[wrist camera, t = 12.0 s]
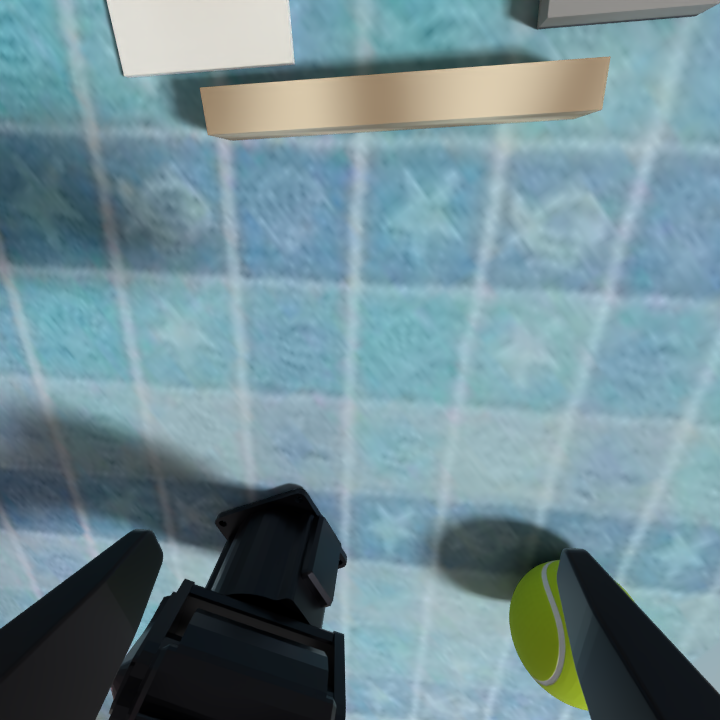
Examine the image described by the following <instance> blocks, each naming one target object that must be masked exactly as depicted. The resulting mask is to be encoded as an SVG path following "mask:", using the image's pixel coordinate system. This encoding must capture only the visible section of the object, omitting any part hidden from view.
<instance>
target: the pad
mask: <svg viewBox="0 0 720 720" xmlns="http://www.w3.org/2000/svg"><path fill="white" fill-rule="evenodd" d="M107 4H108V8H109V12H110V17H111V21H112V25H113V30H114V34H115V38H116V43H117V47H118V51H119V55H120V60H121V64H122V68H123V73H124V76H125V77H128V78H132V77H145V76H158V75H170V74H183V73H195V72H208V71H221V70H233V69H246V68H259V67H271V66H284V65H295V61H294V51H293V40H292V29H291V18H290V7H289V0H107Z"/></svg>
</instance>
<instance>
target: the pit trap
mask: <svg viewBox="0 0 720 720" xmlns="http://www.w3.org/2000/svg"><path fill="white" fill-rule="evenodd" d="M719 3H720V0H540V3H539V13H538V23H537V29H546V28H558V27H570V26H582V25H594V24H606V23H618V22H630V21H642V20H654V19H667V18H679V17H691V16H697V15H699V14H700V13H702V12H704V11H706V10H708V9H710V8H712V7H713V6H715V5H717V4H719Z"/></svg>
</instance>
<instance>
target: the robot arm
mask: <svg viewBox="0 0 720 720" xmlns="http://www.w3.org/2000/svg"><path fill="white" fill-rule="evenodd" d="M298 497H301V499H300V498H298ZM224 521H225V522H224ZM215 524H216V526H217V527H218V528H219V530H220V531H221V532H222V534H223V535H224V536H225V538H226V539H227V542H226V544H225V546H224V549H223V551H222V553H221V555H220V557H219V559H218V561H217V564H216V566H215V568H214V570H213V572H212V574H211V576H210V579H209V581H208V583H207V585H206V587H205V588H204V587H201V586H198V585H195V582H193V581H190V580H187V579H184V581H183V583H182V584H181V586H180V588H179V589H178V591H177V593H176V592H173V593H172V594H171V596H166V597H164V598H163V600H162V601H161V603H160V605H159V607H158V609H157V610H156V612H155V614H154V616H153V618H152V619H151V621H150V623H149V625H148V626H147V628H146V629H145V631H144V632H143V634H142V635H141V636H140V638H139V639H138V640H137V642H136V643H135V644H134V646H133V647H132V648H131V650H130V651H129V652H128V649H129V647H130V645H131V643H132V641H133V638H134V636H135V634H136V632H137V629H138V627H139V624H140V622H141V619H142V616H143V614H144V611H145V608H146V606H147V603H148V600H149V597H150V595H151V592H152V589H153V587H154V584H155V581H156V578H157V576H158V573H159V570H160V568H161V565H162V561H163V552H162V549H161V547H160V545H159V543H158V541H157V539H156V536H155V534H154V533H153V531H151V530H144V529H135V530H133V531H131V532H129V533H128V534H126V535H125V536H124V537H122V538H121V539H120V540H118V541H117V542H116V543H114V544H113V545H112V546H110V547H109V548H108V549H106V550H105V551H104V552H102V553H101V554H100V555H98V556H97V557H96V558H94V559H93V560H92V561H90V562H89V563H88V564H86V565H85V566H84V567H82V568H81V569H80V570H78V571H77V572H76V573H74V574H73V575H72V576H70V577H69V578H68V579H66V580H65V581H64V582H62V583H61V584H60V585H58V586H57V587H56V588H54V589H53V590H52V591H50V592H49V593H48V594H46V595H45V596H44V597H42V598H41V599H40V600H38V601H37V602H36V603H34V604H33V605H32V606H30V607H29V608H28V609H26V610H25V611H24V612H22V613H21V614H20V615H18V616H17V617H16V618H14V619H13V620H12V621H10V622H9V623H8V624H6V625H5V626H4V627H2V628H1V629H0V720H95V719H96V717H97V715H98V713H99V711H100V709H101V706H102V704H103V702H104V700H105V698H106V696H107V694H108V692H109V690H110V687H111V691H112V695H113V703H112V705H111V708H110V711H109V714H111V716H110V718H109V720H345V715H346V696H345V652H344V634H342V633H339V632H336V631H334V632H330V631H327V630H324V629H322V624H323V618H324V612H325V607H328V606H331V604H332V601H333V597H334V590H335V584H336V577H337V571H338V569H339V568H342V567H345V565H346V562H347V556H346V554H345V552H344V551H343V549H342V547H341V543H340V541H339V540H338V538H337V536H336V535H335V533H334V532H333V530H332V528H331V527H330V525H329V524H328V522H327V520H326V519H325V517H323V516H322V515H321V514H320V512H319V511H318V509H317V507H316V506H315V504H314V503H313V501H312V499H311V498H310V496H309V495H308V493H307V492H306V491H305V490H303V489H295V490H292V491H289V492H286V493H283V494H280V495H277V496H274V497H270V498H267V499H264V500H261V501H258V502H255V503H252V504H249V505H245V506H242V507H239V508H236V509H233V510H230V511H227V512H224V513H221V514H219V515H218V517H217V519H216V521H215ZM557 585H558V590H559V595H560V600H561V604H562V609H563V614H564V618H565V623H566V628H567V632H568V637H569V642H570V646H571V651H572V656H573V660H574V664H575V668H576V672H577V675H578V679H579V682H580V686H581V689H582V692H583V695H584V698H585V701H586V704H587V707H588V711H589V714H590V717H591V720H720V694H719V693H718V692H717V691H716V690H715V689H714V688H713V686H712V685H711V684H710V683H709V682H708V681H707V680H706V679H705V678H704V677H703V676H702V675H701V674H700V672H699V671H698V670H697V669H696V668H695V667H694V666H693V665H692V664H691V663H690V662H689V661H688V659H687V658H686V657H685V656H684V655H683V654H682V653H681V652H680V651H679V650H678V649H677V648H676V646H675V645H674V644H673V643H672V642H671V641H670V640H669V639H668V638H667V637H666V636H665V635H664V634H663V632H662V631H661V630H660V629H659V628H658V627H657V626H656V625H655V624H654V623H653V622H652V621H651V619H650V618H649V617H648V616H647V615H646V614H645V613H644V612H643V611H642V610H641V609H640V608H639V607H638V605H637V604H636V603H635V602H634V601H633V600H632V599H631V598H630V597H629V596H628V595H627V594H626V592H625V591H624V590H623V589H622V588H621V587H620V586H619V585H618V584H617V583H616V582H615V581H614V580H613V578H612V577H611V576H610V575H609V574H608V573H607V572H606V571H605V570H604V569H603V568H602V567H601V566H600V564H599V563H598V562H597V561H596V560H595V559H594V558H593V557H592V556H591V555H590V554H589V553H588V552H587V551H586V550H584V549H576V548H565V549H563V550H562V553H561V557H560V561H559V566H558V570H557ZM127 652H128V654H127ZM126 654H127V655H126Z"/></svg>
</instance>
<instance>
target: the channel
mask: <svg viewBox="0 0 720 720" xmlns="http://www.w3.org/2000/svg"><path fill="white" fill-rule="evenodd" d="M609 63H610V57H598V58H585V59H572V60H558V61H545V62H532V63H519V64H506V65H492V66H479V67H466V68H453V69H439V70H426V71H413V72H400V73H386V74H373V75H360V76H347V77H333V78H320V79H307V80H294V81H281V82H267V83H254V84H241V85H228V86H214V87H201V88H200V92H201V98H202V104H203V109H204V115H205V121H206V127H207V133H208V135H210V136H215V137H219V138H224V139H228V140H248V139H264V138H280V137H296V136H312V135H328V134H344V133H359V132H375V131H391V130H407V129H423V128H439V127H455V126H471V125H487V124H503V123H519V122H535V121H551V120H567V119H575V118H578V117H581V116H584V115H587V114H590V113H593V112H596V111H599V110H602V106H603V100H604V94H605V87H606V81H607V75H608V69H609Z"/></svg>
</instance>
